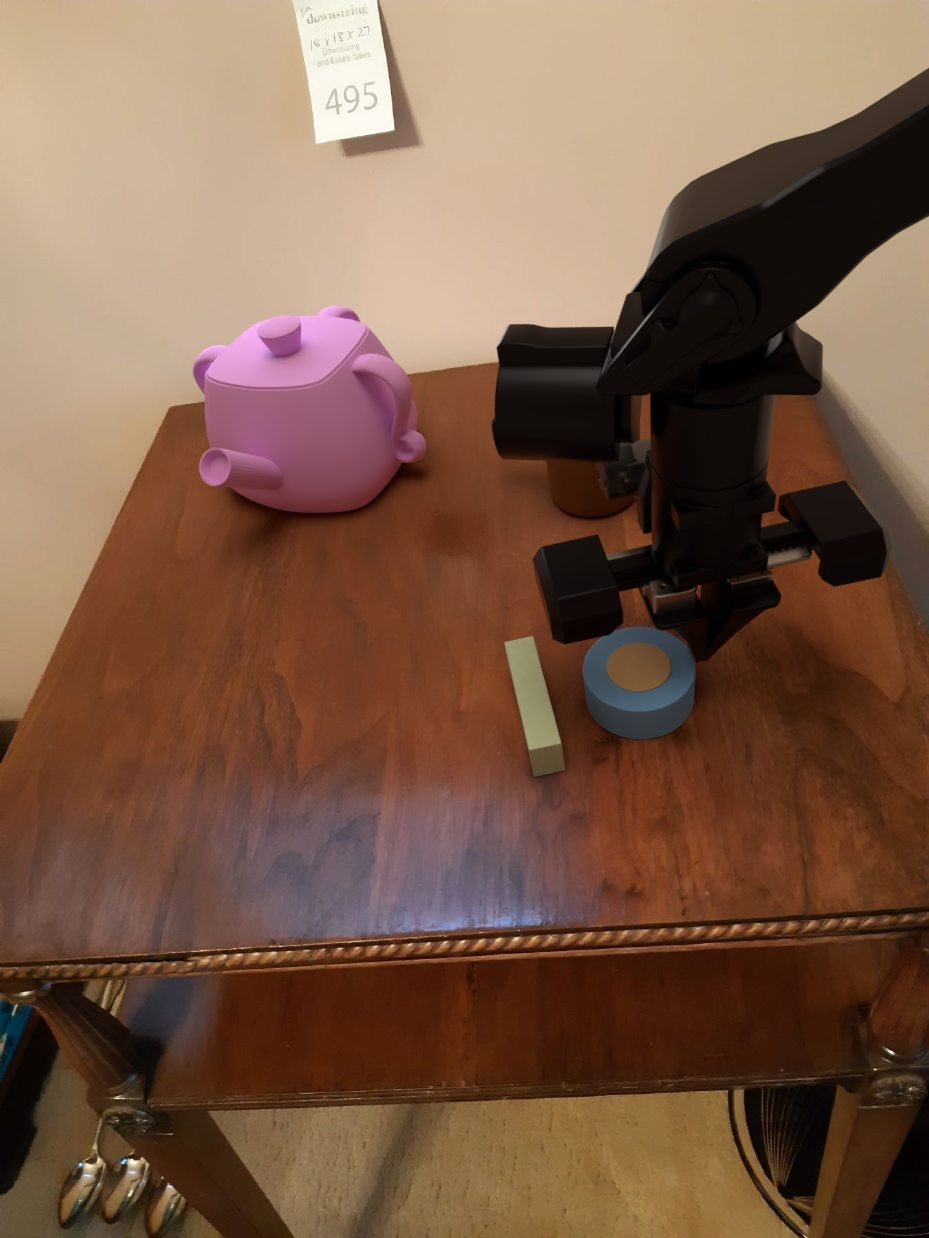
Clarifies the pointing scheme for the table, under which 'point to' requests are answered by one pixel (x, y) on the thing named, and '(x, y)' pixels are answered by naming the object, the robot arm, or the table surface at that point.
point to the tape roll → (639, 682)
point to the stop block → (534, 707)
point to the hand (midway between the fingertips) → (699, 656)
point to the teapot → (306, 413)
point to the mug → (581, 489)
